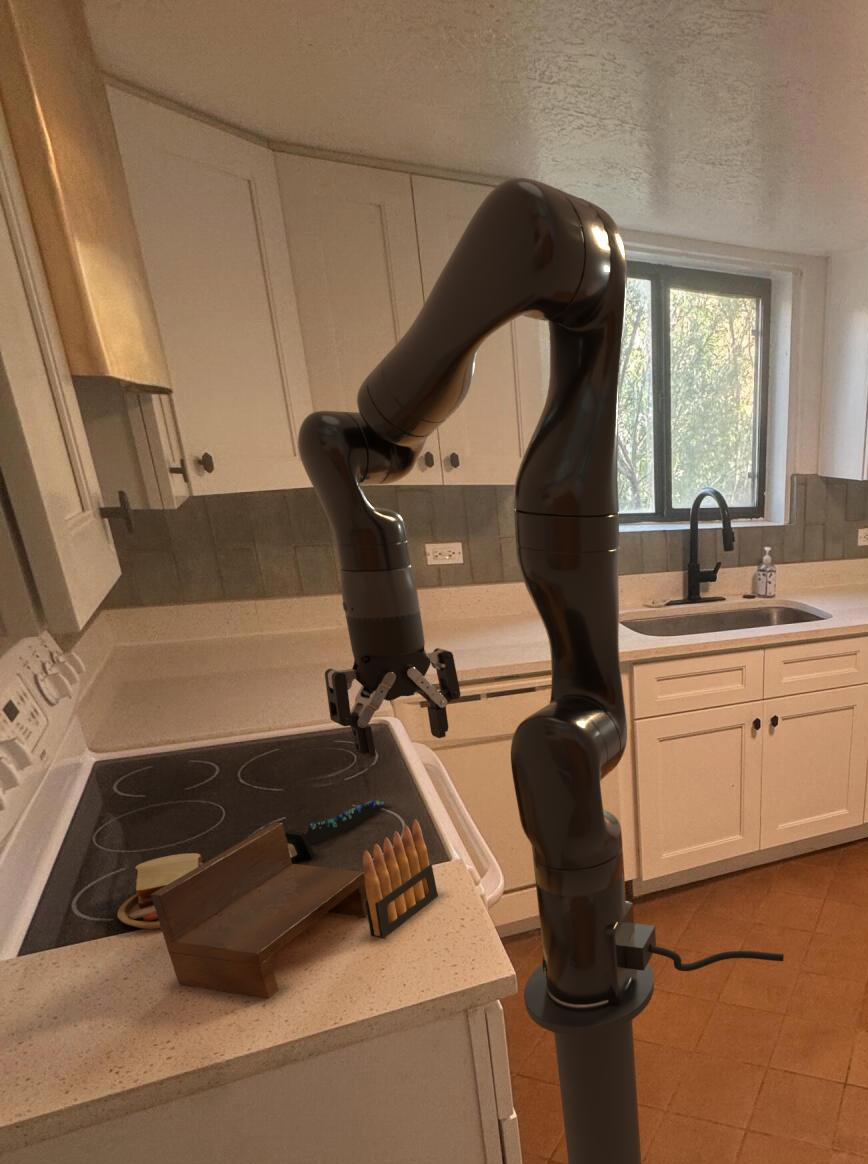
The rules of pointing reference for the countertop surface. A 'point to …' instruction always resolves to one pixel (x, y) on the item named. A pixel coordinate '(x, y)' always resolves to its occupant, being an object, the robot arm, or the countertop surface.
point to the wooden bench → (248, 912)
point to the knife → (329, 828)
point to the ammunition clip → (397, 881)
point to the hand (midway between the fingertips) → (405, 745)
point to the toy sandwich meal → (154, 887)
